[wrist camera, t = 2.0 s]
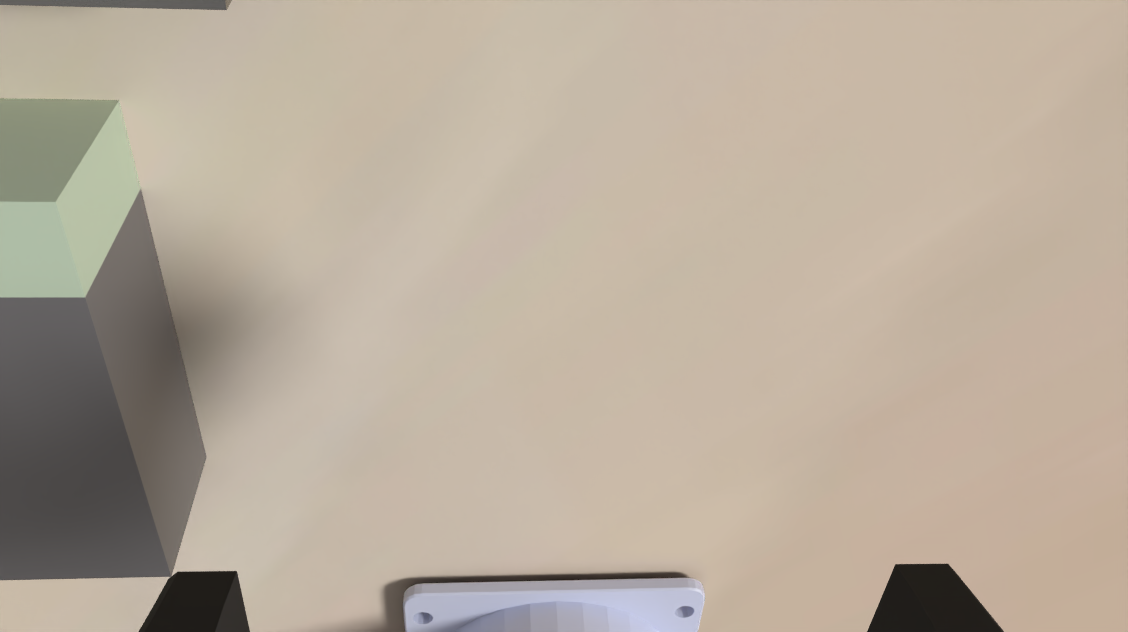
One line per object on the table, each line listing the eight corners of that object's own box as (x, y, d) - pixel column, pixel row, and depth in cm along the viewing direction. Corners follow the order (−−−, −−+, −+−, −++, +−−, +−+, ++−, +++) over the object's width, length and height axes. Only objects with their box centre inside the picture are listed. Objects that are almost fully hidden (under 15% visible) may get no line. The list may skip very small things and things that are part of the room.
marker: (213, 485, 24) (180, 606, 21) (65, 487, 24) (13, 610, 21) (119, 99, 18) (55, 201, 15) (-83, 96, 17) (-184, 200, 15)
